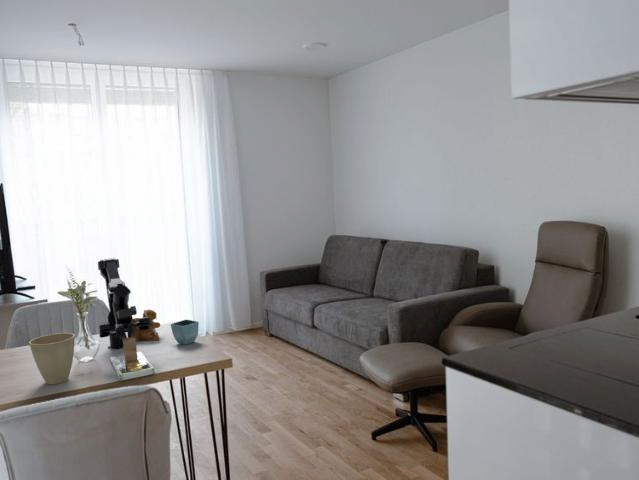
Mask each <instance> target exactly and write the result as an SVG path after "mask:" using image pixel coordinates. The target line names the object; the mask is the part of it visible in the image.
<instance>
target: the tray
mask: <svg viewBox="0 0 639 480" xmlns="http://www.w3.org/2000/svg"><path fill="white" fill-rule="evenodd" d="M116 372H117V374H116V375H117V378H118V380H119V381H126V380H130V379H134V378H139V377H145V376H149V375H155V374H156V372H155V367H154V366H153V364H152V363H151V362H150V361H148V362H147V368H143V369H142V370H138V371H133V372H123V373H121V371H120V369H119V368H116V371H115V373H116Z"/></svg>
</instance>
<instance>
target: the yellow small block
mask: <svg viewBox="0 0 639 480" xmlns="http://www.w3.org/2000/svg"><path fill="white" fill-rule="evenodd" d="M128 369H129V372H133V371H138V370H143V369H142V367H141V365H140V363H139V364H134V365H129V366H128Z"/></svg>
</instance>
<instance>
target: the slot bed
mask: <svg viewBox="0 0 639 480" xmlns="http://www.w3.org/2000/svg"><path fill="white" fill-rule="evenodd" d="M137 359H138V361H139V363H140V365H141V367H142V370H143V369H148V368H147V362H149V360H148V359H147V358H146V357H145V355H144V354H143V351H137ZM109 361H110V364H111V365H112V367H113V369H114V372H115V374H116V375H117V372H116V368H119V369H120V371H121V373H122V374H123V373H128V370H127V369H126V366H125V357H121V358H120V356H118V355H116V356H110V357H109Z"/></svg>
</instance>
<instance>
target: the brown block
mask: <svg viewBox="0 0 639 480" xmlns="http://www.w3.org/2000/svg"><path fill="white" fill-rule="evenodd" d="M123 346H124V347H123V354H124V358H125V366H126V369H127V370H128V372H129V369H128V366H129V365H134V364H139V361H138V359H137V352H138V350H137V341H136V339H135V338H134V337H131V338H128V337H127V338H125V339H123ZM128 372H127V373H128Z"/></svg>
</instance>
